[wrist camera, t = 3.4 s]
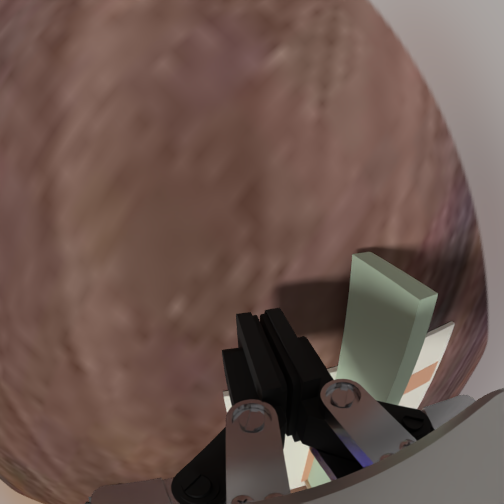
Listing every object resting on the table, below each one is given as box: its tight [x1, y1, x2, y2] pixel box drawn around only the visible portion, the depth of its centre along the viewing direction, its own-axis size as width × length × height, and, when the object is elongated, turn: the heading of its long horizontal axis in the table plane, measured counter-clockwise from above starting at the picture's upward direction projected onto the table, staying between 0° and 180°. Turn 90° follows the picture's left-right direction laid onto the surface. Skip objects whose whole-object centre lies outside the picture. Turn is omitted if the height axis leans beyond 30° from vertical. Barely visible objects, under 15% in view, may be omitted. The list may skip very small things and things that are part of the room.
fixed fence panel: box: [304, 457, 331, 489], centre depth 17 cm, size 13×2×5 cm, turn 3°
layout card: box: [223, 321, 455, 489], centre depth 19 cm, size 20×18×1 cm
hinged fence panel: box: [335, 252, 438, 405], centre depth 12 cm, size 13×2×4 cm, turn 3°
